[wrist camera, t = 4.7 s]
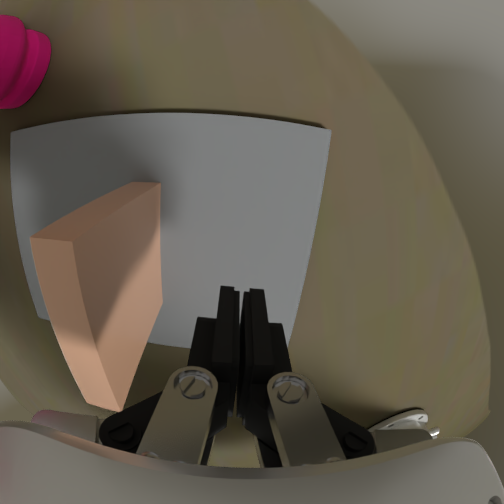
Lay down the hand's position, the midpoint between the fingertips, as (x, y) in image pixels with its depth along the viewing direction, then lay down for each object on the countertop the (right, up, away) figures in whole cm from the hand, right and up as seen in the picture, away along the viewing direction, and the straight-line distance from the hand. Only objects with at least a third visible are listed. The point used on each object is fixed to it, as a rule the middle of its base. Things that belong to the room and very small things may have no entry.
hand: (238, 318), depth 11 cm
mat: (-7, +3, +6) cm, 10 cm away
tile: (-6, +3, +5) cm, 8 cm away
